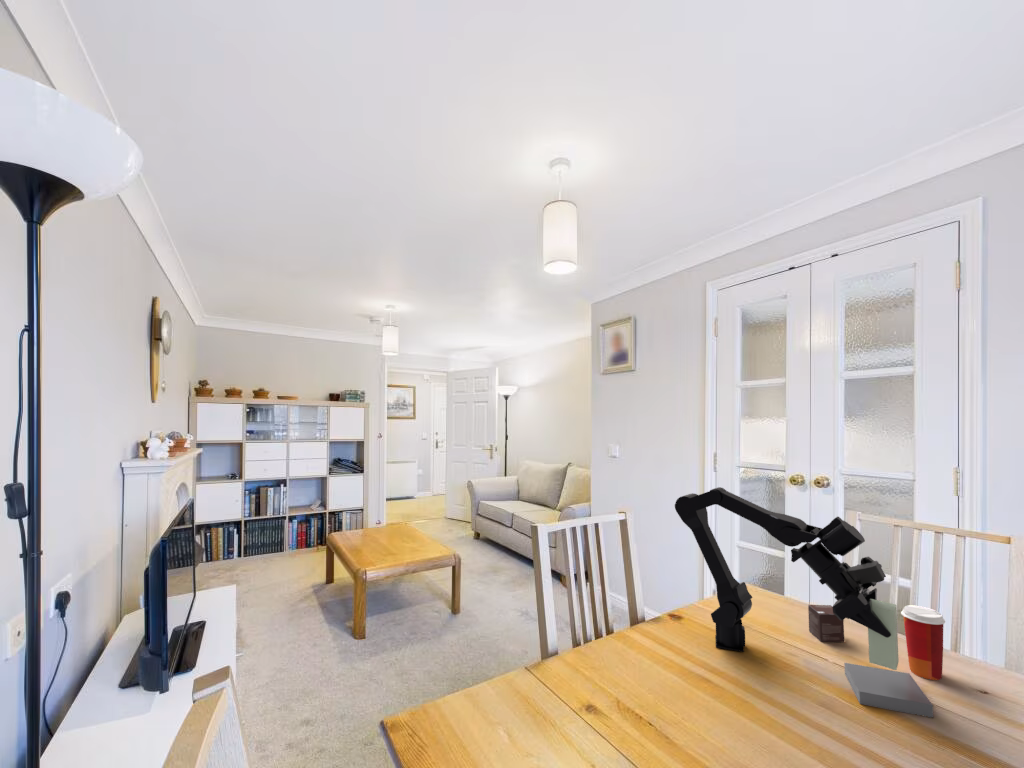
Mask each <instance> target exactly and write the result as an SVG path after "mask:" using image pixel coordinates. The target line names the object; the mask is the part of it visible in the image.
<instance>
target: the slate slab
mask: <svg viewBox="0 0 1024 768" xmlns="http://www.w3.org/2000/svg"><path fill="white" fill-rule="evenodd" d="M844 675H845V677H846V679H847V681H848V683H849V686H850V687H851V689H852V691H853V693H854V695H855V697H856V698H857V701H858V703H859V704H860V705H865V706H869V707H874V708H879V709H885V710H890V711H895V712H901V713H906V714H910V715H915V714H917V716H920V715H922V717H926V716H928V717H927V718H931V717H933V718H934V707H933V706H934V705H933V703H932V702H931V701H930V699H929V698H928V696H927V695H926V694H925V693H924V691H923V690H922V688H921V687H920V686H919V684H918V683H917V681H915V679H914V678H913V676H912V675H911V674H910V673H909V672H902V671H897V670H893V669H891V670H890V669H885V668H884V669H883V668H879V667H872V666H868V665H862V664H861V665H860V664H856V663H850V662H849V663H848V662H844ZM923 715H924V716H923Z"/></svg>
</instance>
